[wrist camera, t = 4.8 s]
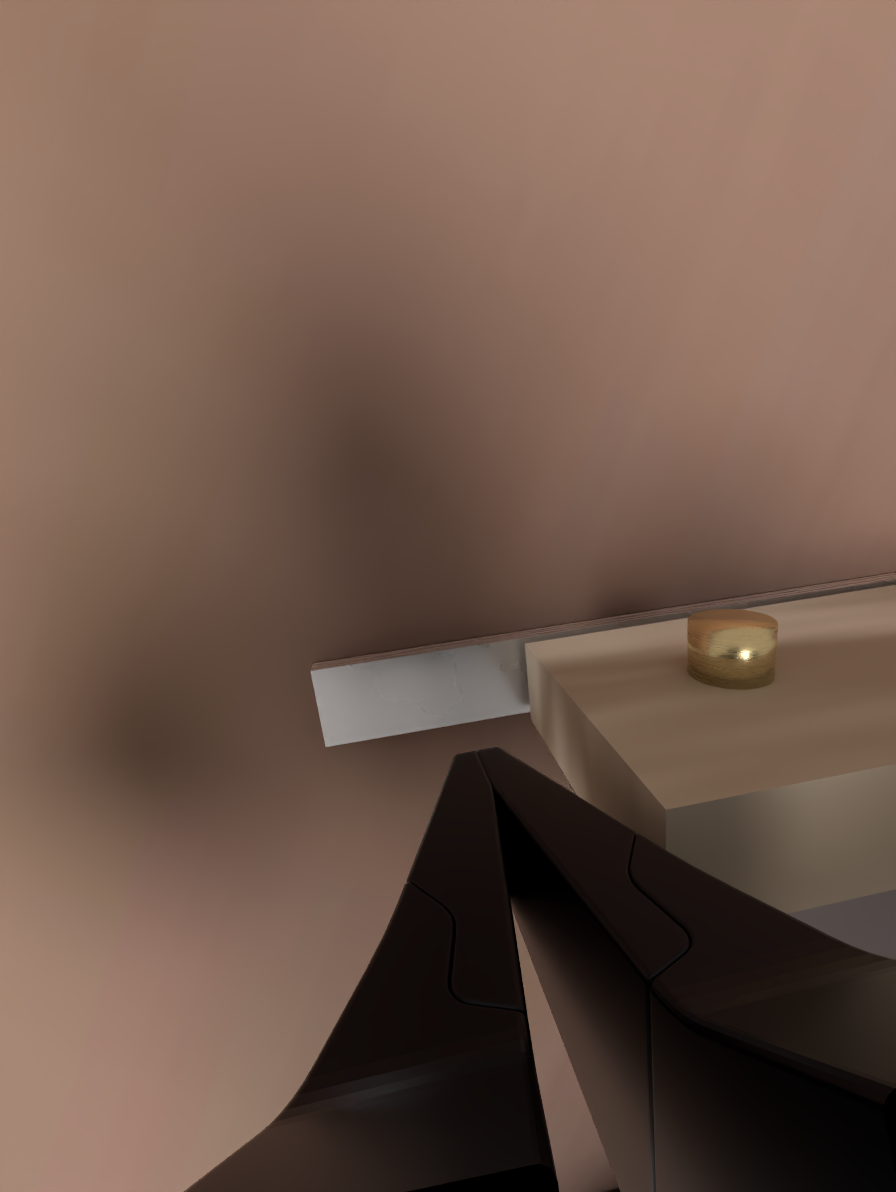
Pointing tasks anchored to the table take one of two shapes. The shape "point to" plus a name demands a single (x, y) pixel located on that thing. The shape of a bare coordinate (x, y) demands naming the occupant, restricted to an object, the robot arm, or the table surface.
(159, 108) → the table surface
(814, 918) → the cabinet
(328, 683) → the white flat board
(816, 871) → the door
